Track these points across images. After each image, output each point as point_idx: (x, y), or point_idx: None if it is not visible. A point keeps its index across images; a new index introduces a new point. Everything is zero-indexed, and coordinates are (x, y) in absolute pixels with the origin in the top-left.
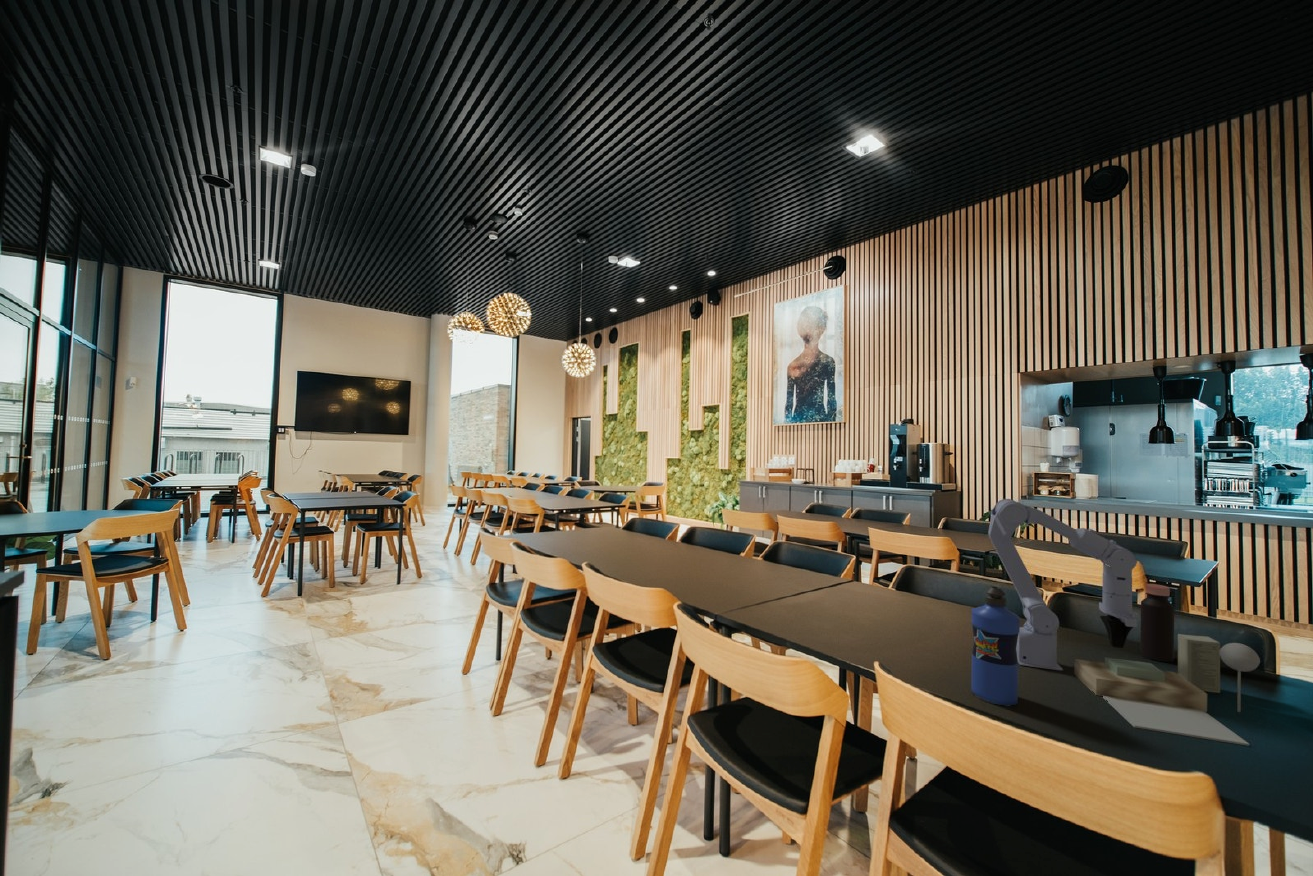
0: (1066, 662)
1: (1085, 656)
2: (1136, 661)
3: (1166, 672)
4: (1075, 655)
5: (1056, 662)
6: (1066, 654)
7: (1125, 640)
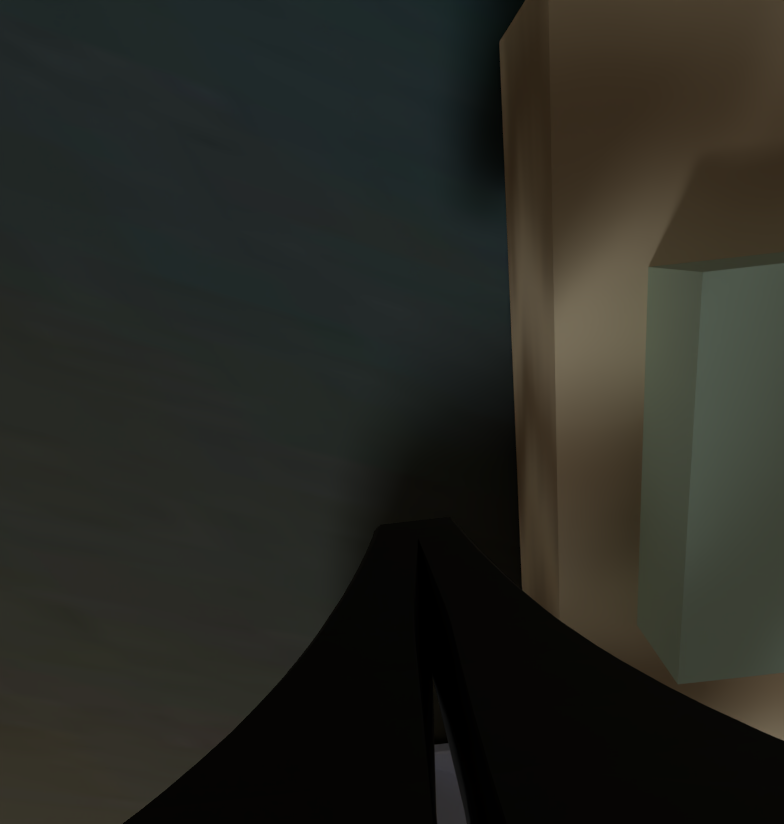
0: (272, 682)
1: (4, 532)
2: (695, 421)
3: (612, 86)
4: (35, 596)
5: (437, 788)
6: (59, 649)
7: (491, 564)
